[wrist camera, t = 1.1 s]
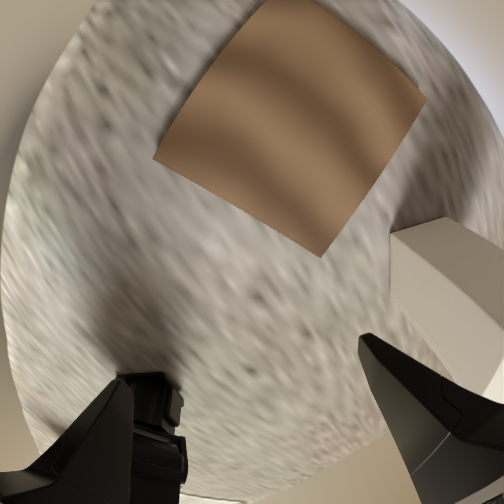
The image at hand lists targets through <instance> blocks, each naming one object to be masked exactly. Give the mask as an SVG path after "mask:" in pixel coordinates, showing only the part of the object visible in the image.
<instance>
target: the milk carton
mask: <svg viewBox="0 0 504 504" xmlns="http://www.w3.org/2000/svg"><path fill="white" fill-rule="evenodd" d="M390 298H391V299H392V300H393V301H394V303H395V304H396V305H397V306H398V307H399V309H400V310H401V311H402V312H403V313H404V315H405V316H406V317H407V318H408V319H409V321H410V322H411V323H412V324H413V326H414V327H415V328H416V329H417V331H418V332H419V333H420V334H421V336H422V337H423V338H424V340H425V341H426V342H427V343H428V345H429V346H430V347H431V349H432V350H433V351H434V353H435V354H436V355H437V357H438V358H439V359H440V361H441V362H442V363H443V365H444V366H445V367H446V369H447V370H448V372H449V373H450V374H451V376H452V377H453V378H454V380H455V381H456V383H457V384H458V385H459V386H461V387H463V388H465V389H467V390H469V391H471V392H474V393H476V394H478V395H481V396H483V397H485V398H488V399H490V400H492V401H495V402H498V403H502V404H504V250H503V249H501V248H500V247H498V246H496V245H495V244H493V243H492V242H490V241H488V240H487V239H485V238H483V237H482V236H480V235H478V234H477V233H475V232H473V231H471V230H470V229H468V228H466V227H464V226H463V225H461V224H459V223H457V222H455V221H453V220H451V219H450V218H448V217H443V218H439V219H436V220H433V221H430V222H426V223H423V224H420V225H416V226H413V227H410V228H406V229H403V230H400V231H396V232H393V233H391V234H390Z"/></svg>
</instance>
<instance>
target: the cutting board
mask: <svg viewBox="0 0 504 504" xmlns="http://www.w3.org/2000/svg"><path fill="white" fill-rule="evenodd" d="M426 100H427V98H426V97H425V96H424V95H423V94H422V93H421V92H420V90H419V89H418V88H417V87H416V86H415V85H414V84H413V83H412V82H411V81H410V80H409V79H408V78H407V77H406V75H405V74H404V73H403V72H402V71H401V70H400V69H399V68H398V67H397V66H395V65H394V64H393V63H392V62H391V61H390V60H389V59H388V58H387V57H386V56H385V55H384V54H383V53H382V52H380V51H379V50H378V49H377V48H376V47H375V46H374V45H372V44H371V43H370V42H369V41H368V40H366V39H365V38H364V37H363V36H361V35H360V34H359V33H358V32H356V31H355V30H354V29H353V28H351V27H350V26H349V25H347V24H346V23H345V22H343V21H342V20H340V19H339V18H338V17H336V16H335V15H333V14H332V13H330V12H329V11H327V10H326V9H324V8H323V7H321V6H320V5H318V4H317V3H315V2H313V1H312V0H266V1H265V2H264V3H263V4H262V6H261V7H260V8H259V9H258V10H257V11H256V12H255V13H254V14H253V15H252V16H251V17H250V18H249V20H248V21H247V22H246V23H245V24H244V25H243V26H242V28H241V29H240V30H239V31H238V32H237V33H236V35H235V36H234V37H233V38H232V39H231V41H230V42H229V43H228V44H227V46H226V47H225V48H224V49H223V51H222V52H221V53H220V54H219V56H218V57H217V58H216V60H215V61H214V62H213V64H212V65H211V66H210V68H209V69H208V70H207V72H206V73H205V75H204V76H203V77H202V79H201V80H200V82H199V83H198V85H197V86H196V87H195V89H194V90H193V92H192V93H191V95H190V96H189V98H188V99H187V101H186V102H185V104H184V106H183V107H182V109H181V110H180V112H179V113H178V115H177V117H176V118H175V120H174V122H173V123H172V125H171V126H170V128H169V130H168V132H167V133H166V135H165V137H164V138H163V140H162V142H161V144H160V145H159V147H158V149H157V151H156V153H155V155H154V156H153V158H152V159H153V160H155V161H157V162H159V163H161V164H162V165H164V166H166V167H168V168H170V169H171V170H173V171H175V172H177V173H179V174H180V175H182V176H184V177H186V178H187V179H189V180H191V181H193V182H195V183H196V184H198V185H200V186H202V187H203V188H205V189H207V190H208V191H210V192H212V193H214V194H215V195H217V196H219V197H221V198H222V199H224V200H226V201H227V202H229V203H231V204H233V205H234V206H236V207H238V208H239V209H241V210H243V211H244V212H246V213H248V214H249V215H251V216H253V217H254V218H256V219H258V220H259V221H261V222H263V223H264V224H266V225H268V226H269V227H271V228H273V229H274V230H276V231H278V232H279V233H281V234H283V235H284V236H286V237H287V238H289V239H291V240H292V241H294V242H296V243H297V244H299V245H300V246H302V247H304V248H305V249H307V250H308V251H310V252H312V253H313V254H315V255H316V256H318V257H320V258H321V257H322V255H323V254H324V253H325V251H326V250H327V249H328V248H329V246H330V245H331V244H332V242H333V241H334V239H335V238H336V237H337V235H338V234H339V233H340V231H341V230H342V229H343V227H344V226H345V224H346V223H347V222H348V220H349V219H350V218H351V216H352V215H353V213H354V212H355V211H356V209H357V208H358V206H359V205H360V203H361V202H362V201H363V199H364V198H365V196H366V195H367V193H368V192H369V190H370V189H371V188H372V186H373V185H374V183H375V182H376V180H377V179H378V177H379V176H380V174H381V173H382V171H383V170H384V168H385V167H386V165H387V164H388V162H389V161H390V159H391V158H392V156H393V154H394V153H395V151H396V150H397V148H398V147H399V145H400V143H401V142H402V140H403V139H404V137H405V135H406V134H407V132H408V131H409V129H410V127H411V126H412V124H413V122H414V121H415V119H416V117H417V116H418V114H419V112H420V111H421V109H422V107H423V106H424V104H425V102H426Z"/></svg>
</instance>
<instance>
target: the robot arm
mask: <svg viewBox="0 0 504 504" xmlns="http://www.w3.org/2000/svg"><path fill="white" fill-rule="evenodd" d="M358 355H359V358H360V361H361V364H362V367H363V369H364V372H365V375H366V378H367V381H368V384H369V387H370V389H371V392H372V394H373V396H374V398H375V400H376V402H377V404H378V406H379V408H380V410H381V412H382V415H383V417H384V419H385V421H386V423H387V425H388V427H389V429H390V431H391V434H392V436H393V438H394V440H395V442H396V445H397V446H398V449H399V451H400V453H401V456H402V458H403V460H404V462H405V465H406V467H407V469H408V472H409V474H410V475H411V479H412V481H413V484H414V486H415V488H416V491H417V493H418V496H419V498H420V501H421V503H422V504H504V404H502V403H498V402H495V401H492V400H490V399H488V398H485V397H483V396H481V395H478V394H476V393H474V392H471V391H469V390H467V389H465V388H463V387H461V386H459V385H457V384H455V383H454V382H452V381H450V380H448V379H447V378H445V377H443V376H442V377H441V375H440V374H438V373H436V372H435V371H433V370H431V369H430V368H428V367H426V366H425V365H423V364H421V363H420V362H418V361H416V360H415V359H413V358H412V357H410V356H408V355H407V354H405V353H403V352H402V351H400V350H398V349H397V348H395V347H393V346H392V345H390V344H388V343H387V342H385V341H383V340H382V339H380V338H378V337H377V336H375V335H374V334H372V333H366V334H363V335H360V336H359V342H358ZM183 406H184V402H183V400H182V398H181V397H180V395H179V394H178V392H177V391H176V389H175V388H174V387H173V386H172V385H171V383H170V382H169V380H168V378H167V377H166V375H165V374H164V373H162V372H155V373H143V374H130V375H117V376H116V378H115V379H114V380H112V381H111V382H110V383H109V384H108V385H107V386H106V387H105V388H104V390H103V391H102V392H101V393H100V394H99V395H98V396H97V397H96V398H95V399H94V400H93V401H92V402H91V404H90V405H89V406H88V407H87V408H86V409H85V410H84V411H83V412H82V413H81V414H80V415H79V416H78V418H77V419H76V420H75V421H74V422H73V423H72V424H71V425H70V426H69V427H68V428H67V430H66V431H65V432H64V433H63V435H61V436H60V437H59V438H58V439H57V440H56V442H55V443H54V444H53V445H52V446H51V447H50V448H49V449H48V450H47V451H45V452H44V453H43V454H42V455H41V456H40V457H39V458H38V459H37V460H36V461H35V462H34V463H32V464H31V465H30V466H29V467H28V468H26V469H24V470H20V471H13V472H12V471H11V472H0V504H179V494H180V488H182V487H183V486H184V484H185V482H186V479H187V474H188V459H187V450H186V439H185V437H183V436H176V435H174V434H175V427H178V426H179V423H180V413H181V407H183Z"/></svg>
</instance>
